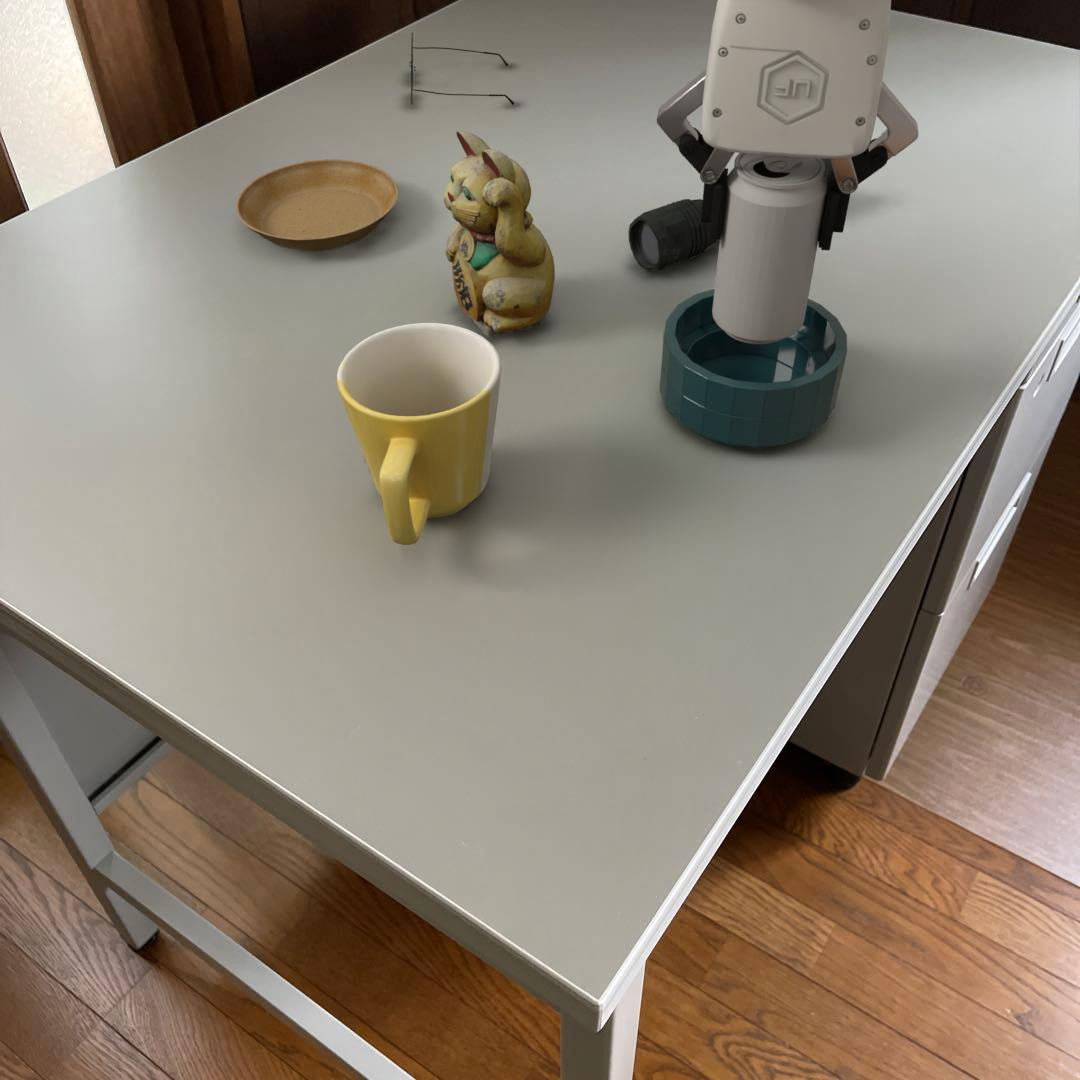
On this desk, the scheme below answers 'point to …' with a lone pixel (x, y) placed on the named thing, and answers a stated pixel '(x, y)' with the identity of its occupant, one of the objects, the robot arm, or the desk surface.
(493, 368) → the mug
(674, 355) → the bowl
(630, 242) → the flashlight
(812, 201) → the beverage can
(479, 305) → the decorative figurine
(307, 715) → the desk surface
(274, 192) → the plant saucer
